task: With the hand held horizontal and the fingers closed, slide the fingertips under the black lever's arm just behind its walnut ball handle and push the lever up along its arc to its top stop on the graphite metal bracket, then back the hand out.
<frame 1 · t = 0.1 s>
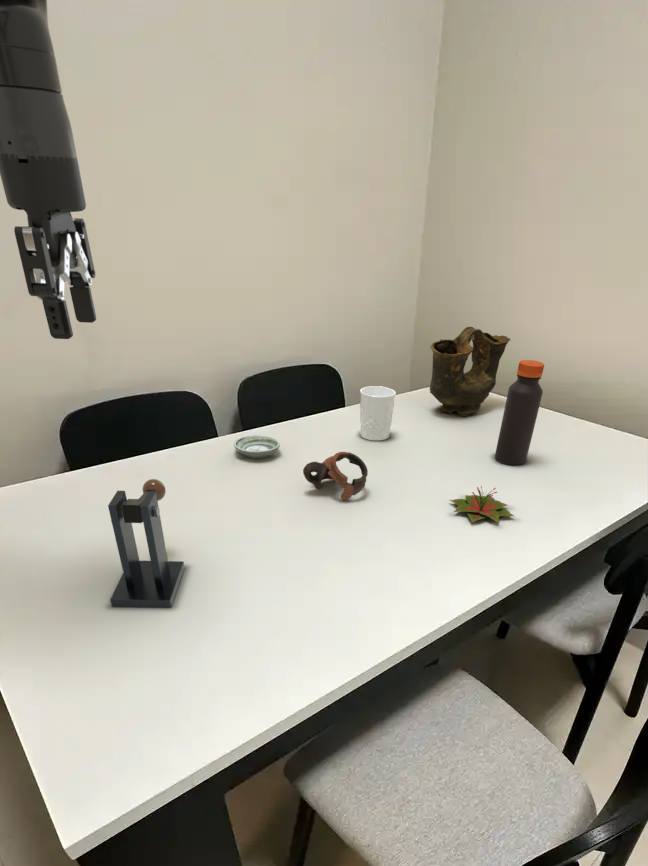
hand: (75, 329, 68), 32 cm above the table, tool pointing down, fingers open, 8 cm apart
saucer: (257, 454, 123), on the table
lily flower: (480, 512, 107), on the table
pottery vessel: (460, 410, 153), on the table
bracket: (150, 586, 83), on the table
lever: (145, 499, 81), point 11 cm above the table, hinge at -10.0°
brown curved ring piece: (333, 491, 111), on the table
bottle: (509, 460, 127), on the table
white cup: (374, 436, 135), on the table
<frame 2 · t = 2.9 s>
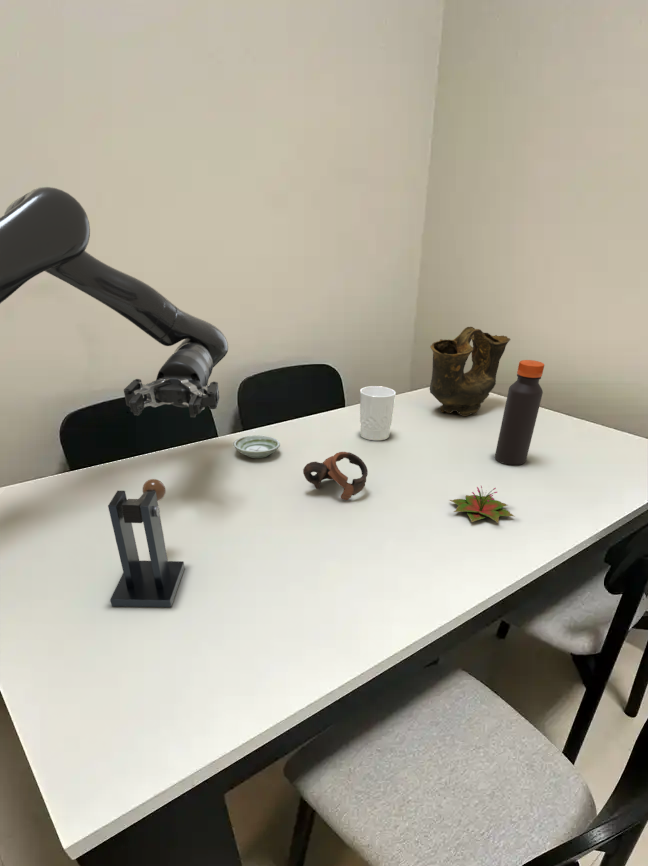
hand: (163, 410, 88), 18 cm above the table, tool horizontal, fingers open, 8 cm apart
nothing on the table moved.
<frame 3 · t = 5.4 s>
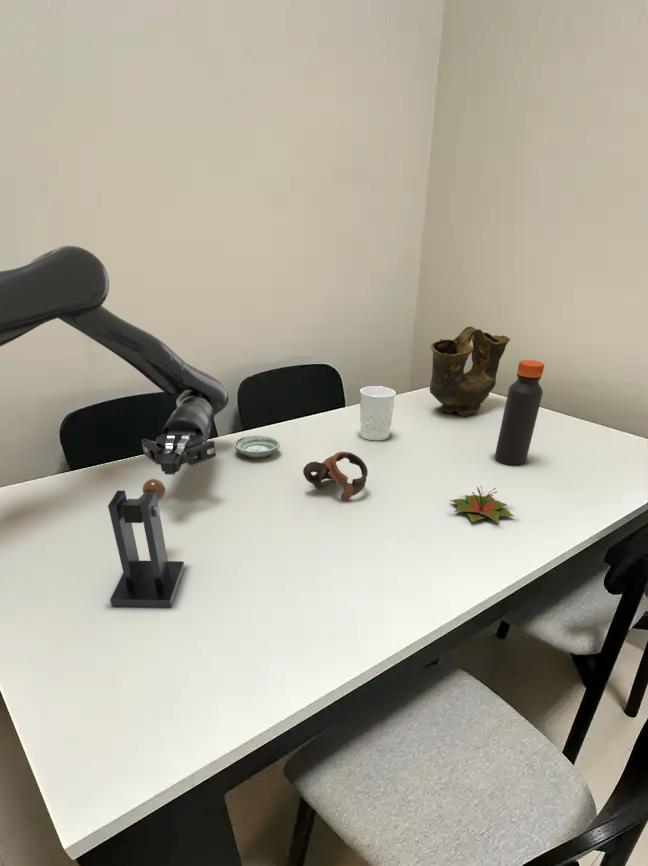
hand: (168, 469, 93), 9 cm above the table, tool horizontal, fingers closed
nothing on the table moved.
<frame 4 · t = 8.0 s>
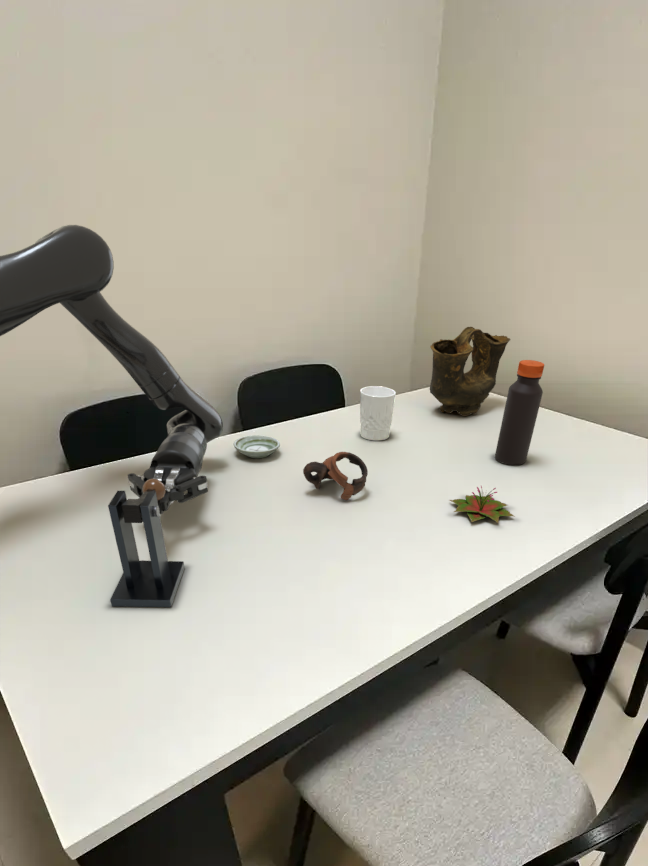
hand: (156, 508, 86), 8 cm above the table, tool horizontal, fingers closed
lever: (145, 499, 80), point 11 cm above the table, hinge at -9.7°, touching gripper
everything else where it was.
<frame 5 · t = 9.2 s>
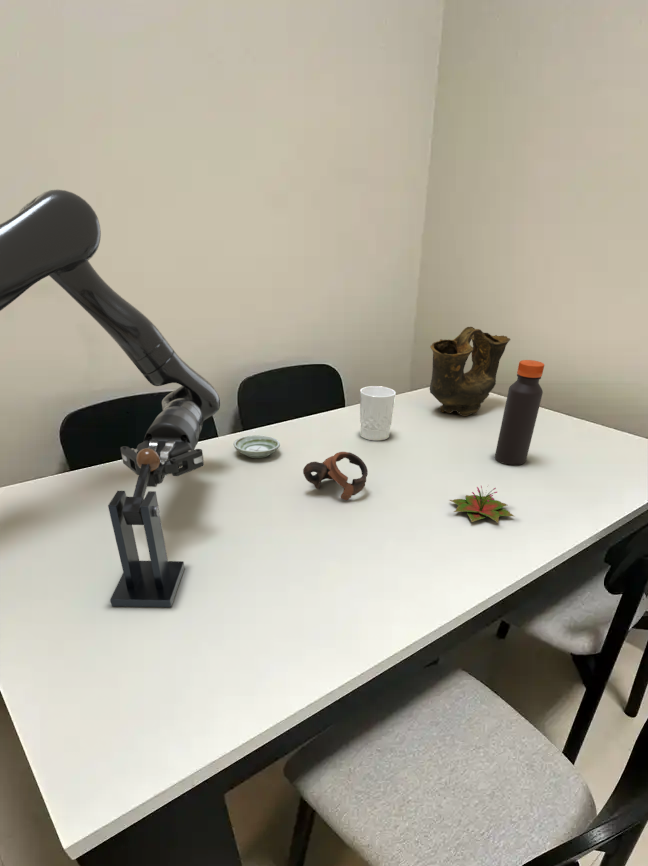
hand: (149, 480, 83), 12 cm above the table, tool horizontal, fingers closed
lever: (141, 484, 79), point 14 cm above the table, hinge at 17.5°, touching gripper
everything else where it was.
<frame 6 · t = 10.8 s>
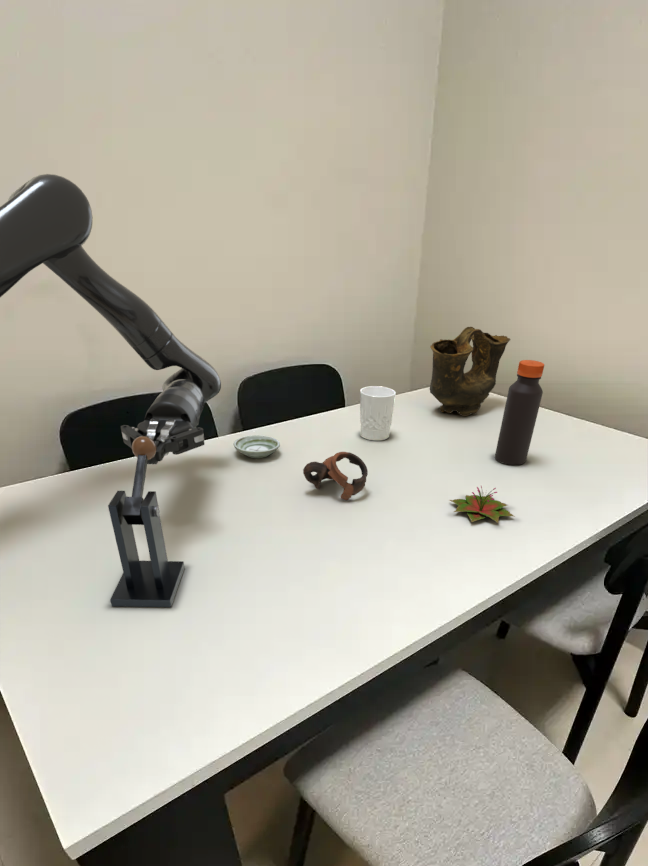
hand: (149, 458, 82), 15 cm above the table, tool horizontal, fingers closed
lever: (139, 478, 78), point 15 cm above the table, hinge at 30.4°
everything else where it was.
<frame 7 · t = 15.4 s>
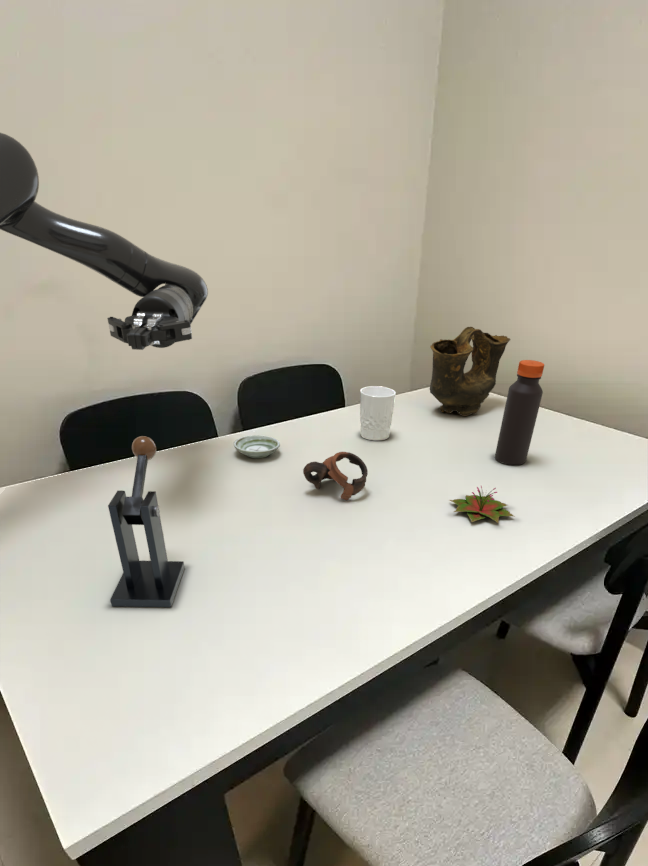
hand: (135, 341, 82), 28 cm above the table, tool horizontal, fingers closed
nothing on the table moved.
at the end: lever at +30° (first picture: -10°); the gripper is holding nothing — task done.
